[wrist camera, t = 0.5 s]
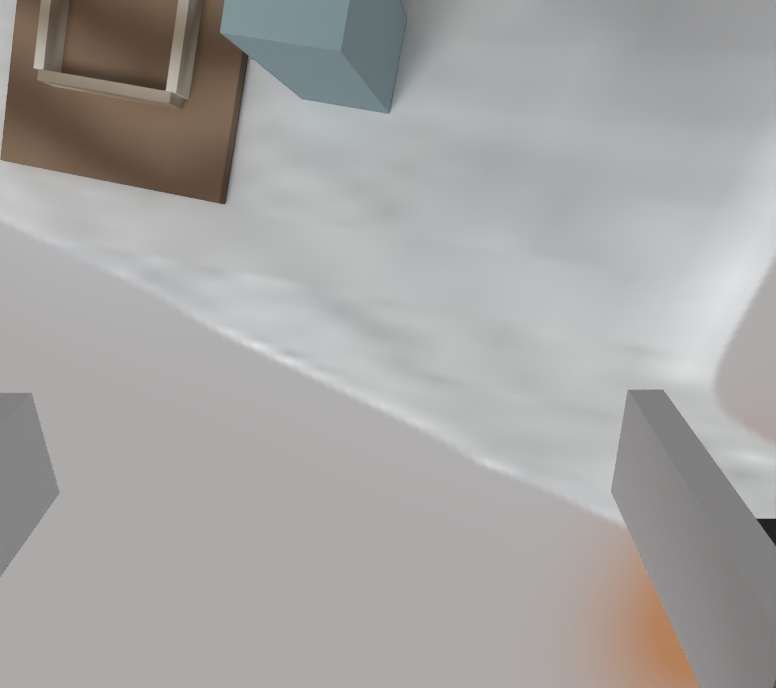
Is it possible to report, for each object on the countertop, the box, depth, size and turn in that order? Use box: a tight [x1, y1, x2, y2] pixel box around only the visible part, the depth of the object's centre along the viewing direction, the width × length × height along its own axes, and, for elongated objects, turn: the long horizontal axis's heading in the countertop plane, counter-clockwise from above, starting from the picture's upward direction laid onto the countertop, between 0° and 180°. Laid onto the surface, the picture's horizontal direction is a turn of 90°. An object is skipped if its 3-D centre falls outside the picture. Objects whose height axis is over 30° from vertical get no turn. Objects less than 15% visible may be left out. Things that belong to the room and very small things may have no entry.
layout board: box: [0, 0, 248, 204], centre depth 37 cm, size 18×14×2 cm
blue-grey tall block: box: [220, 0, 407, 114], centre depth 31 cm, size 5×5×11 cm
